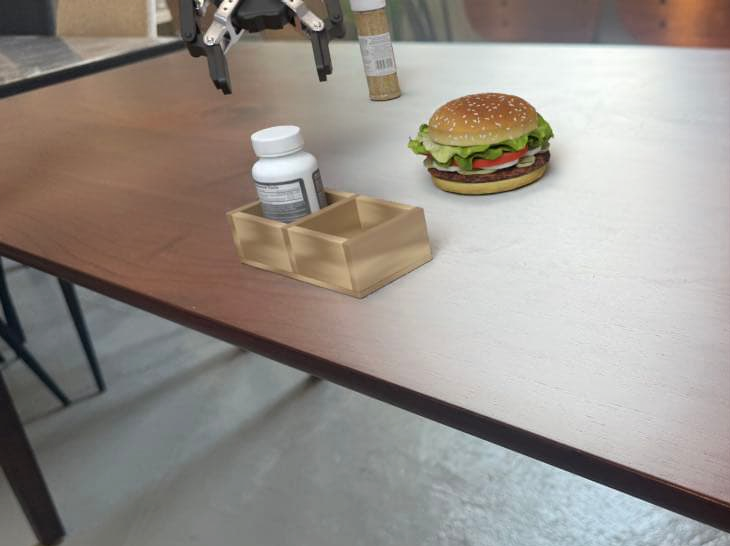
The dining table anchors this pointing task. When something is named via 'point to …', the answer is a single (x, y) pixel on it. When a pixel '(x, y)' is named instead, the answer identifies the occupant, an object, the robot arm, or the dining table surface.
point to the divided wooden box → (336, 242)
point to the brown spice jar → (376, 48)
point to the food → (484, 144)
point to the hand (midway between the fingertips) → (274, 83)
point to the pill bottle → (286, 175)
